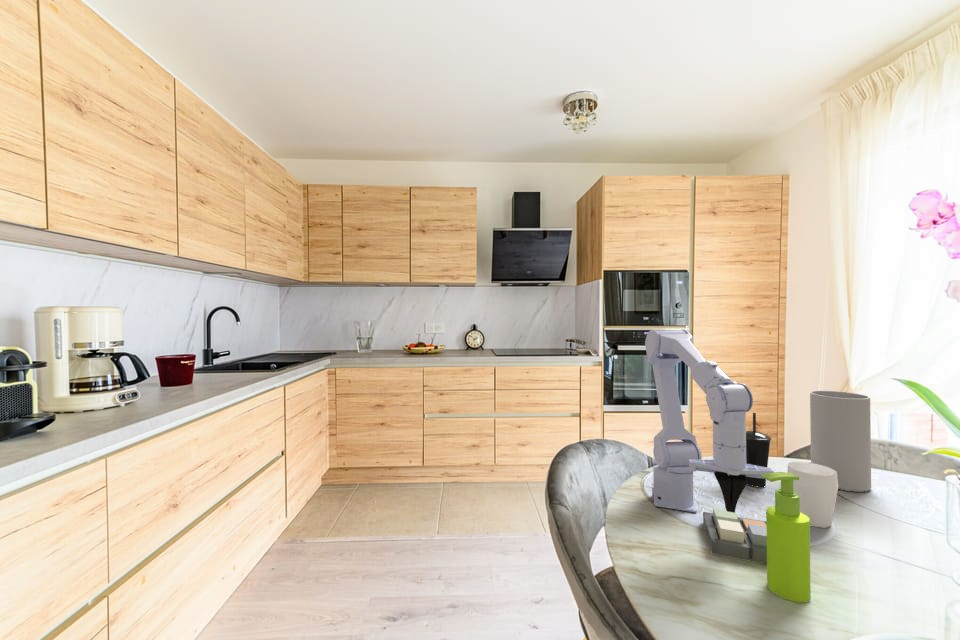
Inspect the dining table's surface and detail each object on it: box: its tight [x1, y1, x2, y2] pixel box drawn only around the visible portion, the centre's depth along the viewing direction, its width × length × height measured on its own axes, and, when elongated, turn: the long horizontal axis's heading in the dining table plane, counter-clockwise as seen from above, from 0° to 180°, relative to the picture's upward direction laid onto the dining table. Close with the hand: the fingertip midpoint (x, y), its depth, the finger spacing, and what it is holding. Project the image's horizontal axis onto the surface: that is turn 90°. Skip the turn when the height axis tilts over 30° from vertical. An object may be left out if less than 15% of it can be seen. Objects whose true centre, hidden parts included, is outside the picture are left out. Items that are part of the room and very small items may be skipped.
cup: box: [787, 461, 838, 528], centre depth 91 cm, size 9×9×12 cm
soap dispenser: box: [762, 471, 812, 603], centre depth 68 cm, size 6×7×20 cm
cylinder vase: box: [809, 390, 872, 493], centre depth 111 cm, size 12×12×25 cm
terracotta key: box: [741, 517, 767, 531], centre depth 84 cm, size 4×4×2 cm
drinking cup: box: [746, 412, 772, 488], centre depth 112 cm, size 8×8×20 cm
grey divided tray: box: [702, 511, 767, 565], centre depth 82 cm, size 13×13×2 cm
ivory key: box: [717, 519, 744, 543], centre depth 81 cm, size 4×4×2 cm
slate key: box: [748, 524, 767, 547], centre depth 79 cm, size 4×4×2 cm
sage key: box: [712, 507, 738, 526], centre depth 86 cm, size 4×4×2 cm
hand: (730, 510), depth 81 cm, fingers closed
